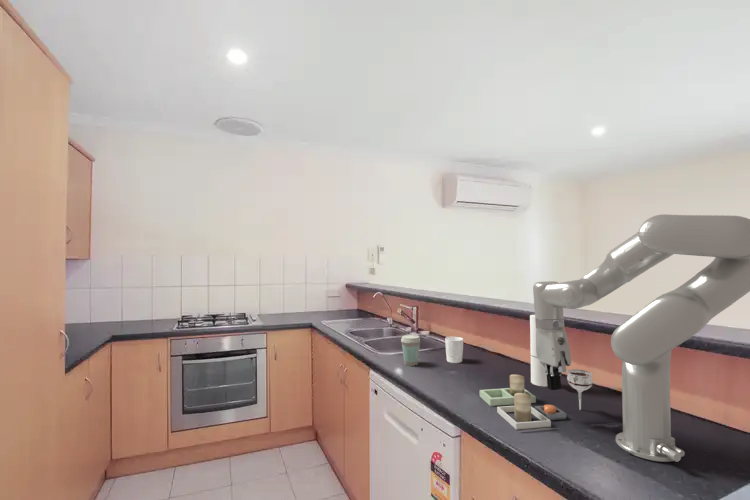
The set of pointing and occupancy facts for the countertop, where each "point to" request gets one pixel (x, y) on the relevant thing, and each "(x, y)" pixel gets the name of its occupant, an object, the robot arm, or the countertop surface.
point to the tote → (524, 425)
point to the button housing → (551, 416)
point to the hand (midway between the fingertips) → (554, 388)
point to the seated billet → (516, 384)
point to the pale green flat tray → (501, 396)
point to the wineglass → (579, 381)
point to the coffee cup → (410, 349)
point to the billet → (522, 407)
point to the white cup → (454, 349)
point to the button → (549, 408)
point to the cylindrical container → (536, 367)
